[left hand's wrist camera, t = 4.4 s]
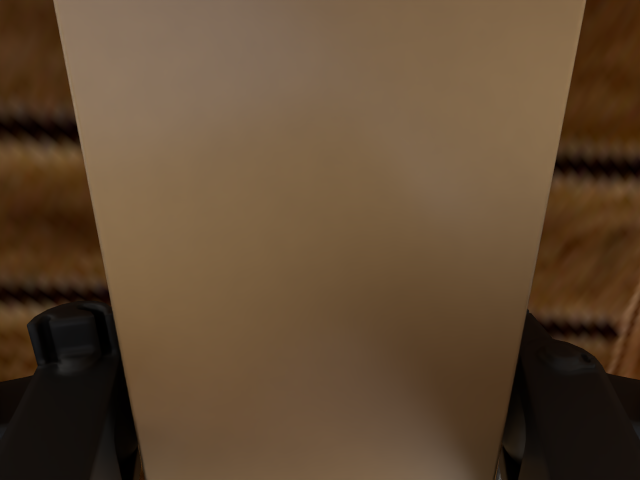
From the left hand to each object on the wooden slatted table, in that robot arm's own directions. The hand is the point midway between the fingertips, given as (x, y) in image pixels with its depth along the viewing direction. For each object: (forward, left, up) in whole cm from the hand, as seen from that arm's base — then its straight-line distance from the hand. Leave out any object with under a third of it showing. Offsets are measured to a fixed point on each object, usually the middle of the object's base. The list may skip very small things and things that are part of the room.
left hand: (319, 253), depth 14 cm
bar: (0, +7, -1) cm, 7 cm away
